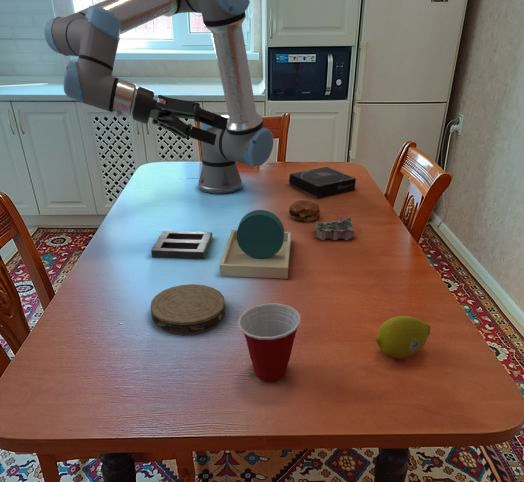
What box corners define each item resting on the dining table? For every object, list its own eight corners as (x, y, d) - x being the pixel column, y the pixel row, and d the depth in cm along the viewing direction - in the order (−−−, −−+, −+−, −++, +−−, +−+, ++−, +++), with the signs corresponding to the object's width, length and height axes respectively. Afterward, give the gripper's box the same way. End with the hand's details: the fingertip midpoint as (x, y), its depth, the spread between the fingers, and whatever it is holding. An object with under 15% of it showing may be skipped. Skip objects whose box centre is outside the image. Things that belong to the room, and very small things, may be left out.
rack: (151, 257, 129) (150, 250, 128) (164, 237, 139) (163, 230, 138) (204, 259, 128) (203, 252, 127) (212, 238, 138) (212, 232, 137)
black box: (324, 177, 183) (325, 166, 181) (354, 190, 172) (355, 178, 169) (288, 184, 176) (289, 173, 174) (317, 198, 165) (317, 186, 162)
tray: (232, 240, 138) (231, 229, 136) (291, 242, 137) (291, 231, 135) (220, 276, 120) (219, 265, 119) (287, 278, 119) (287, 267, 117)
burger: (310, 209, 157) (311, 194, 154) (325, 219, 150) (326, 204, 147) (282, 214, 153) (283, 199, 151) (296, 224, 147) (297, 209, 144)
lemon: (378, 368, 91) (385, 333, 86) (366, 344, 97) (371, 310, 93) (434, 363, 92) (443, 328, 87) (418, 340, 98) (426, 306, 94)
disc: (234, 255, 127) (238, 211, 120) (236, 250, 129) (240, 206, 122) (279, 262, 127) (287, 218, 120) (280, 256, 129) (287, 213, 122)
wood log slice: (138, 326, 102) (135, 314, 101) (174, 290, 114) (172, 279, 113) (206, 341, 98) (205, 328, 96) (236, 302, 110) (236, 291, 108)
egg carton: (351, 230, 143) (352, 217, 140) (353, 241, 137) (355, 227, 134) (314, 229, 143) (315, 216, 141) (315, 240, 137) (316, 226, 135)
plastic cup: (238, 356, 94) (236, 302, 87) (293, 353, 95) (296, 300, 88) (241, 393, 85) (239, 337, 78) (302, 389, 86) (305, 334, 79)
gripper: (129, 133, 127) (208, 159, 133) (133, 100, 103) (228, 134, 110) (135, 104, 126) (214, 131, 133) (140, 64, 103) (235, 100, 109)
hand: (220, 132), depth 121 cm, fingers open, 13 cm apart
